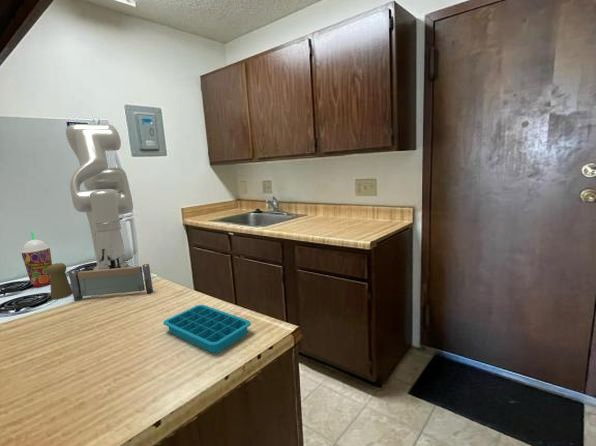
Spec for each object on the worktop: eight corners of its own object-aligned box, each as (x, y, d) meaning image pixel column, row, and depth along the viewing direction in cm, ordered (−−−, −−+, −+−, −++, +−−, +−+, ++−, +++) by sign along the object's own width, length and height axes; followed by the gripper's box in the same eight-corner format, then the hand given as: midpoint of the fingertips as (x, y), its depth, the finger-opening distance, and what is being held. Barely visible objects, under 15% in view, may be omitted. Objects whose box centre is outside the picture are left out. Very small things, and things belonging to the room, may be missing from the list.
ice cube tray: (202, 313, 87) (200, 303, 87) (254, 333, 75) (253, 322, 75) (162, 333, 78) (161, 322, 77) (215, 359, 66) (213, 346, 65)
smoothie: (32, 290, 113) (20, 235, 109) (26, 286, 118) (14, 233, 114) (60, 282, 119) (49, 230, 116) (53, 278, 124) (42, 229, 121)
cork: (77, 291, 109) (71, 261, 107) (62, 299, 103) (56, 266, 101) (61, 292, 109) (55, 261, 107) (46, 299, 103) (39, 267, 101)
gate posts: (76, 298, 103) (71, 270, 101) (154, 290, 105) (150, 263, 103) (72, 301, 101) (66, 272, 99) (151, 293, 103) (147, 265, 101)
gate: (81, 296, 101) (77, 273, 100) (84, 294, 103) (80, 271, 101) (143, 291, 103) (139, 267, 101) (145, 289, 104) (141, 266, 103)
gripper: (107, 223, 115) (115, 271, 119) (84, 232, 101) (94, 286, 104) (128, 222, 116) (136, 269, 119) (108, 230, 101) (118, 284, 105)
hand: (116, 277), depth 112 cm, fingers closed
